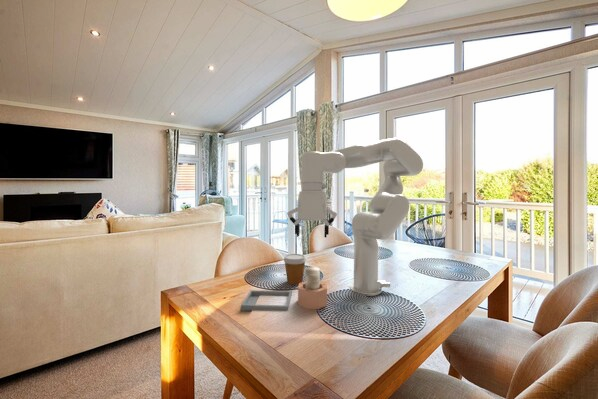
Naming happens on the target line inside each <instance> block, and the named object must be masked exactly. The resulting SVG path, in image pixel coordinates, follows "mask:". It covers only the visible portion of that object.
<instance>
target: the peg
mask: <svg viewBox="0 0 598 399" xmlns="http://www.w3.org/2000/svg"><path fill="white" fill-rule="evenodd" d="M320 271H321V269H320V268H319V267H315V266H311V267H310V266H309V267H306V268H305V281H306V289H308V290H318V289H320V282H321V276H320V275H321V273H320Z"/></svg>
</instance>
